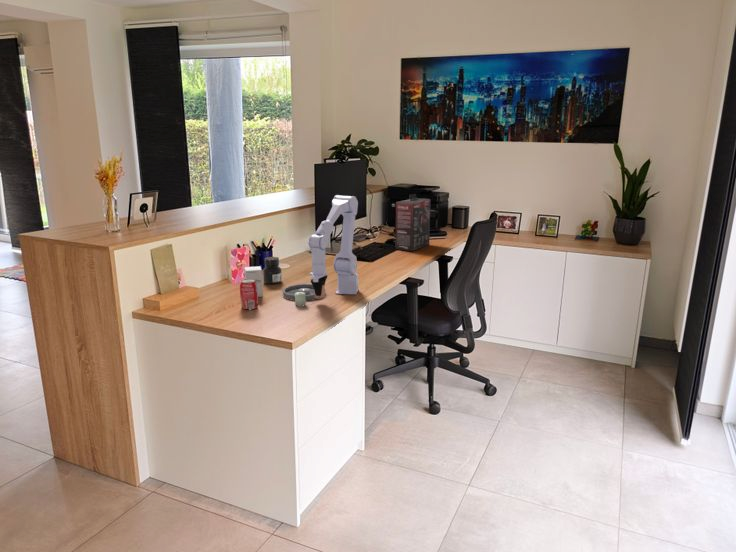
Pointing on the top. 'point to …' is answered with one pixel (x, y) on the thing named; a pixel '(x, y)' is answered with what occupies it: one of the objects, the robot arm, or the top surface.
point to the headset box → (412, 223)
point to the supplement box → (255, 277)
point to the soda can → (248, 294)
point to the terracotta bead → (321, 293)
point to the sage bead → (300, 299)
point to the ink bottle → (272, 271)
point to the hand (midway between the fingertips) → (319, 293)
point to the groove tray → (306, 288)
